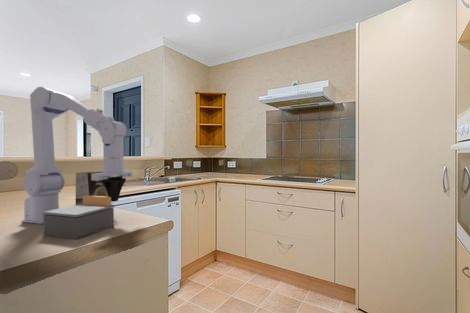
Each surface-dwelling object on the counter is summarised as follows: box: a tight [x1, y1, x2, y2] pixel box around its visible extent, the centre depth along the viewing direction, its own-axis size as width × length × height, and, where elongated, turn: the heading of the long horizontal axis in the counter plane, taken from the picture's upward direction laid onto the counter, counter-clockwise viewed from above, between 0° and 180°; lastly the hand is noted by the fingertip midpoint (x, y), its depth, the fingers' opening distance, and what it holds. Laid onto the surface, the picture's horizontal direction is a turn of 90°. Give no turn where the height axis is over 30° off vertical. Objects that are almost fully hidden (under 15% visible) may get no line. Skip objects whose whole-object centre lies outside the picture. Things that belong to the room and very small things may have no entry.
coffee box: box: [75, 170, 109, 205], centre depth 82 cm, size 9×6×16 cm
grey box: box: [43, 207, 115, 240], centre depth 67 cm, size 12×12×6 cm
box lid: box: [42, 195, 115, 217], centre depth 67 cm, size 12×12×3 cm
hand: (113, 201), depth 74 cm, fingers closed
